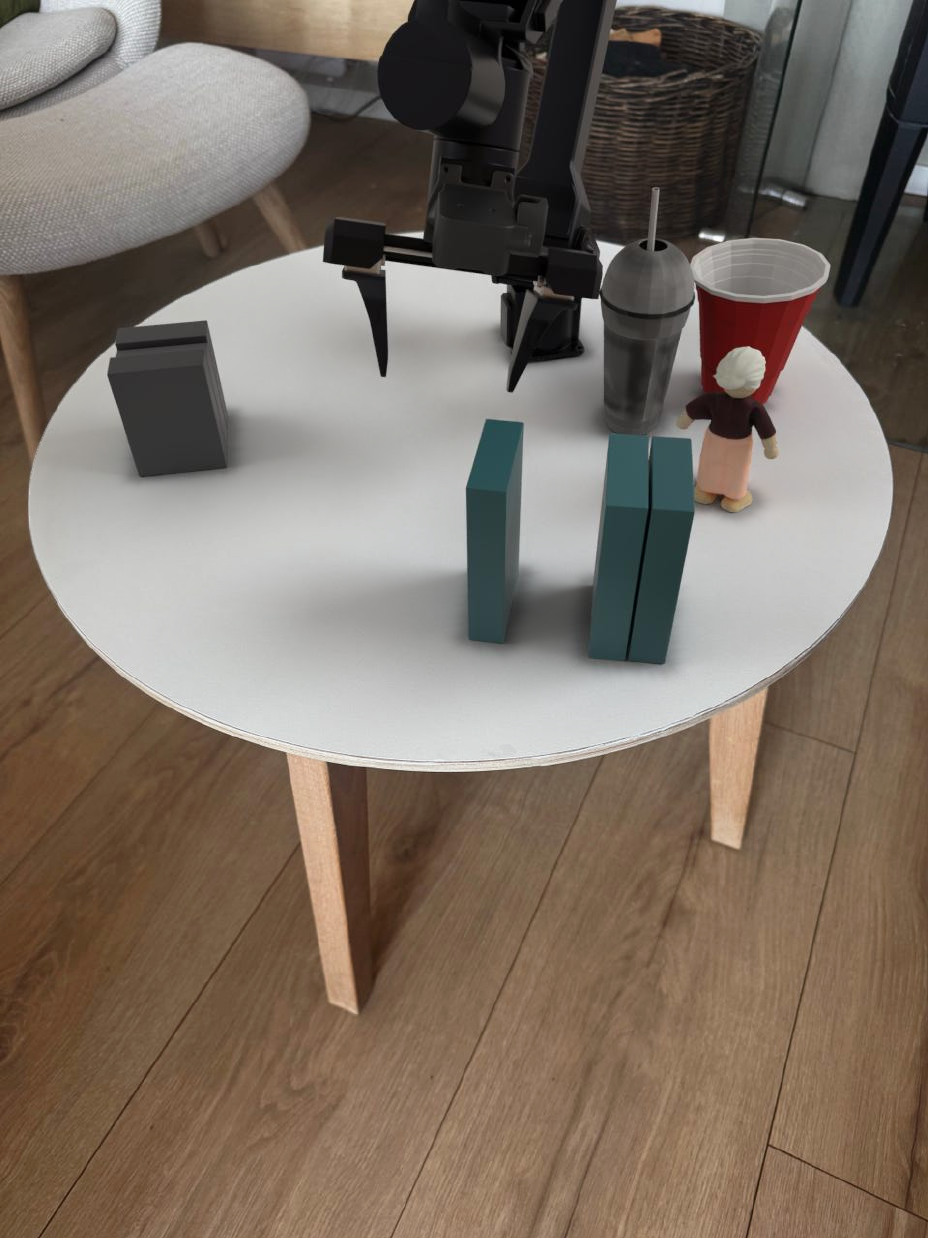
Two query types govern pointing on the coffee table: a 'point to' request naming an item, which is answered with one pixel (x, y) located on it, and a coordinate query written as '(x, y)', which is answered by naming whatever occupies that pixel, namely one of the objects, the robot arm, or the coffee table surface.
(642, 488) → the teal books
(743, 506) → the grandmother figurine
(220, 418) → the grey books
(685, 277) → the beverage cup
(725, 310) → the plastic cup
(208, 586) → the coffee table surface
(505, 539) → the teal book
